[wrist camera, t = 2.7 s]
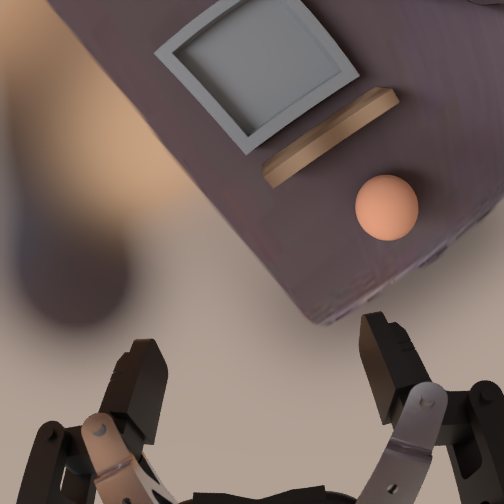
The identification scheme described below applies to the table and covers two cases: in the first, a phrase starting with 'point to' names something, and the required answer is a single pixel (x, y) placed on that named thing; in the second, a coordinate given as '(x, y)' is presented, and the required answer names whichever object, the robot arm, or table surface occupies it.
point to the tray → (256, 65)
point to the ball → (386, 207)
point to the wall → (328, 134)
